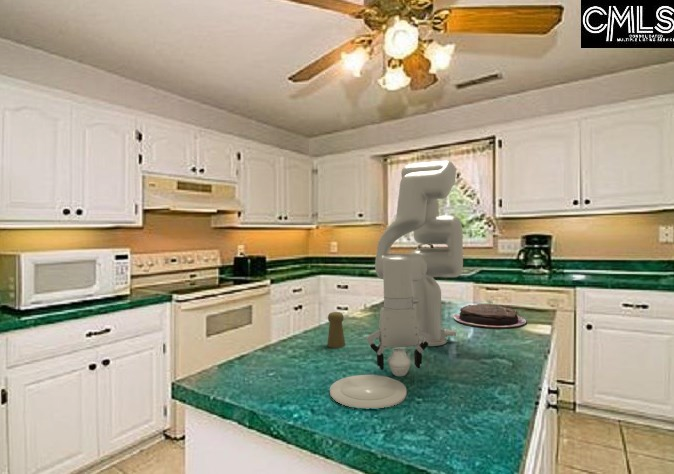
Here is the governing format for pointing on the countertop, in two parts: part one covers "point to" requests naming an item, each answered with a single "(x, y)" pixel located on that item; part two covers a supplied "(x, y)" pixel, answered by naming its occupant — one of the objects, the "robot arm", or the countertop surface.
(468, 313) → the chocolate cake
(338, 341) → the cork
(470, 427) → the countertop surface
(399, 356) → the muffin
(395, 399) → the plate
